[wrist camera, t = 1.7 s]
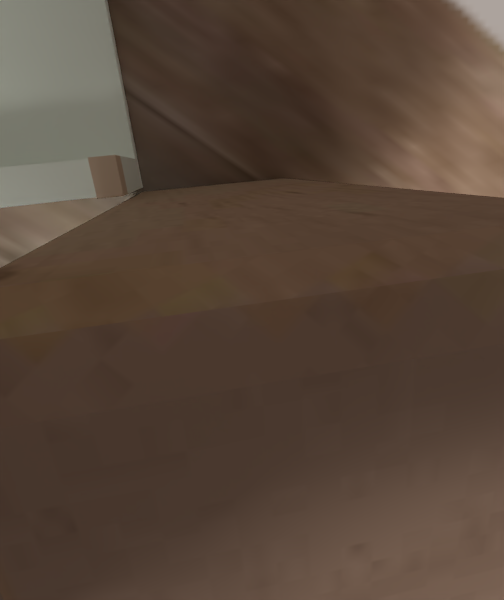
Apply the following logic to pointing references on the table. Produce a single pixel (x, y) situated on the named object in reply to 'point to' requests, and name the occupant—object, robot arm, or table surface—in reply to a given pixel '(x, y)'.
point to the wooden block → (257, 398)
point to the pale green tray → (62, 105)
